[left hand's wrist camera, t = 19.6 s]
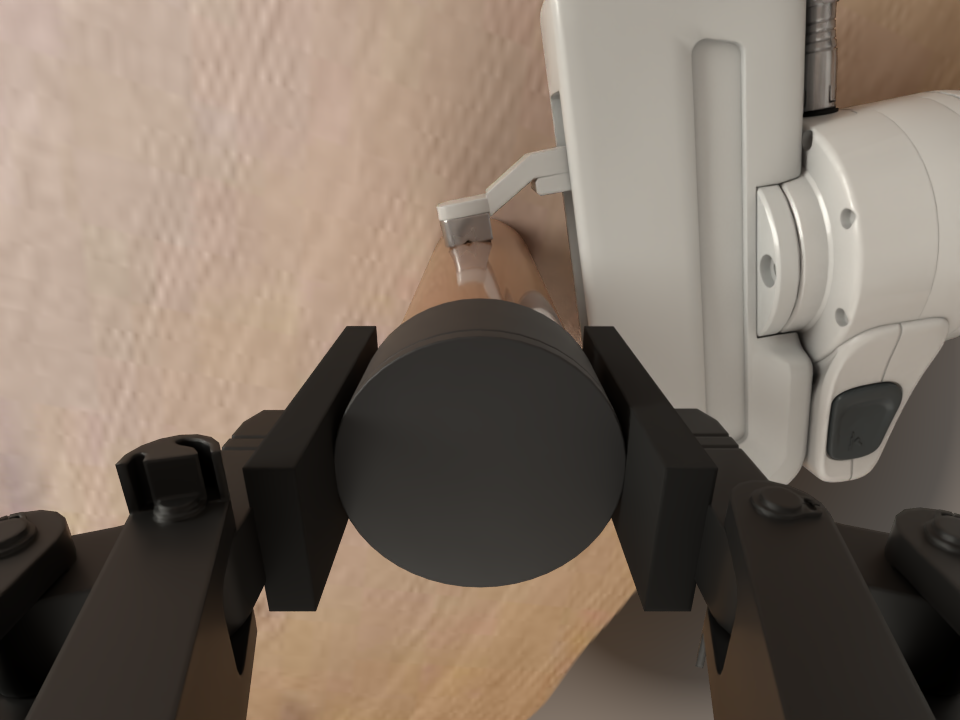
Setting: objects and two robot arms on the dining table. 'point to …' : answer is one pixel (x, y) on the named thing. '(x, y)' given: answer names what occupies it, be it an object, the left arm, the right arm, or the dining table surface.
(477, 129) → the dining table surface
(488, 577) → the lid
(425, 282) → the jar
